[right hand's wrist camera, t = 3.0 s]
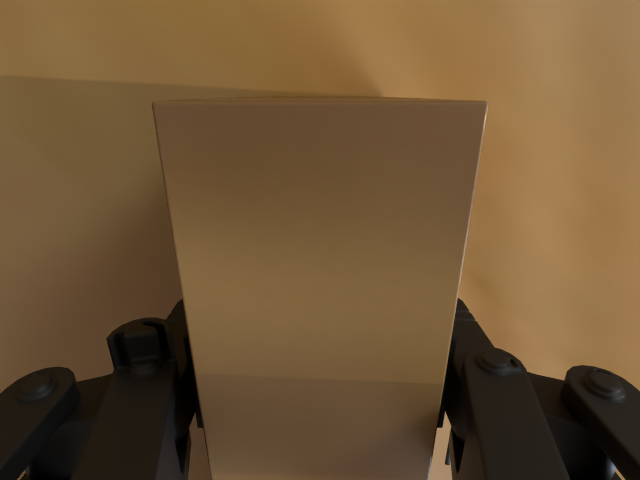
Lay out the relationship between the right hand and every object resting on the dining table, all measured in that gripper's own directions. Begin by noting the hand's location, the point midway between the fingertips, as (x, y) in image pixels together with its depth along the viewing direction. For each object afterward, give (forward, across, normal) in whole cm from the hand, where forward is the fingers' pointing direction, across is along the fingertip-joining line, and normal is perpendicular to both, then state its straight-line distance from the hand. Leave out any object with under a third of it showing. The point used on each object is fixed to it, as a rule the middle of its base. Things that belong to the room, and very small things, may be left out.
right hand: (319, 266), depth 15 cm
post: (+1, 0, -22) cm, 22 cm away
